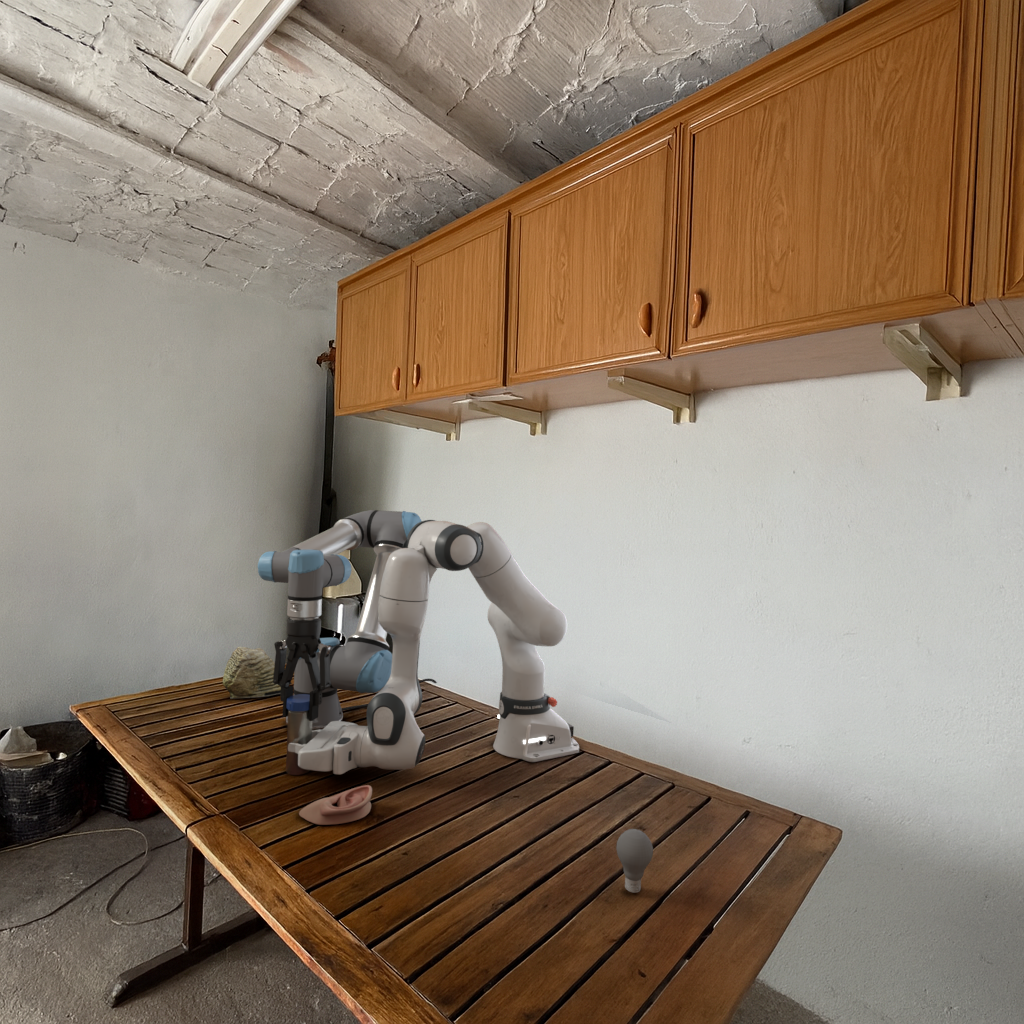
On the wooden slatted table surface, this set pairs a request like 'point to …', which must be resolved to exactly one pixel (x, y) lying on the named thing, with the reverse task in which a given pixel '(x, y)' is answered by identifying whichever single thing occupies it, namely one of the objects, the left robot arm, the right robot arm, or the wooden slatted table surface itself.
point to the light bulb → (634, 857)
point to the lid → (298, 702)
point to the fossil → (250, 674)
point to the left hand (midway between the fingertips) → (300, 716)
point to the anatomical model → (339, 807)
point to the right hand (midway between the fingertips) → (295, 740)
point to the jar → (297, 738)
